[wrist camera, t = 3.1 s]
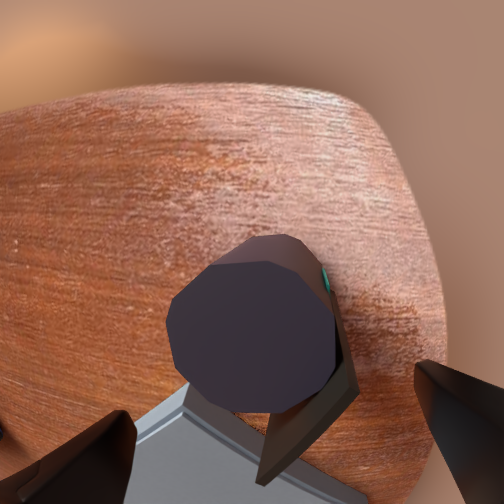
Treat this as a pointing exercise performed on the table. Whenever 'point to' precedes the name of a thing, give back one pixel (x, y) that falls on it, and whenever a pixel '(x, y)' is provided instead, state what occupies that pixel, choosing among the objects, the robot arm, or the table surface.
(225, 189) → the table surface
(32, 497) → the robot arm
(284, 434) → the speaker
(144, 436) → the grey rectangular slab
